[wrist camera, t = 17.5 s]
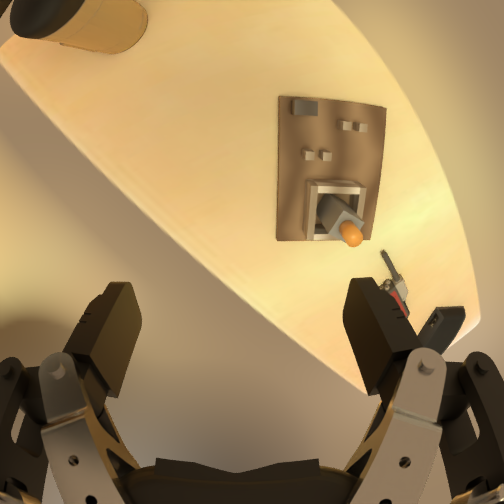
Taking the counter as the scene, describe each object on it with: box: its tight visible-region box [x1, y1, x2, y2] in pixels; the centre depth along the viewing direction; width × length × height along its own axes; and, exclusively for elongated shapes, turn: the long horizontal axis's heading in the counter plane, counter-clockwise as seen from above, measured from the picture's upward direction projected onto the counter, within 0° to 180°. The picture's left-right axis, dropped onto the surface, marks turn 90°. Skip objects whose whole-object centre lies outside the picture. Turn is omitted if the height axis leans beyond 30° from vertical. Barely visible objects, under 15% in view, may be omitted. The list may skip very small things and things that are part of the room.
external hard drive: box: [418, 306, 466, 355], centre depth 59 cm, size 13×19×4 cm
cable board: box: [276, 96, 387, 241], centre depth 37 cm, size 16×22×5 cm
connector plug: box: [316, 193, 364, 247], centre depth 36 cm, size 4×4×11 cm
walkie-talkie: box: [379, 252, 410, 318], centre depth 50 cm, size 9×4×20 cm
